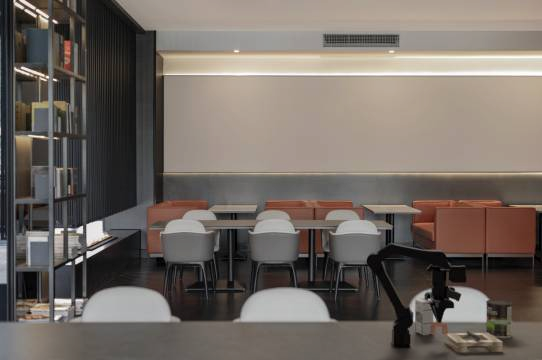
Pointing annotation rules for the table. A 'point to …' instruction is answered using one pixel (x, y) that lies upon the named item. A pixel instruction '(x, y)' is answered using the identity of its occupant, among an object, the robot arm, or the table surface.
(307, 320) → the table surface
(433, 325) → the tee shaped peg
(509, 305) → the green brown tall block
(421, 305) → the syrup box
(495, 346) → the frame with crossbar
